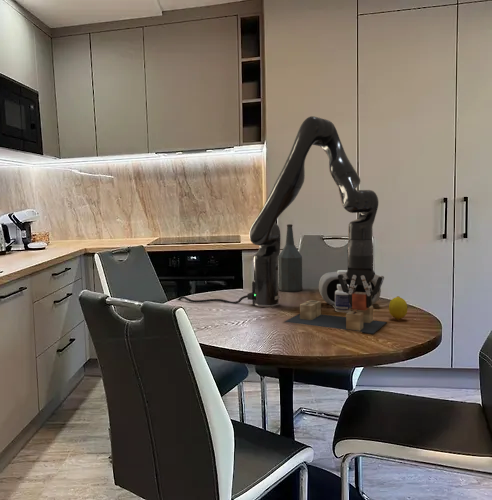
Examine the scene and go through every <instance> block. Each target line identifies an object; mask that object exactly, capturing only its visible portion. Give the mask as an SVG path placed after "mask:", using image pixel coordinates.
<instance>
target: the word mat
mask: <svg viewBox="0 0 492 500" xmlns="http://www.w3.org/2000/svg"><path fill="white" fill-rule="evenodd" d="M284 322H285V323H291V324H299V325H305V326H314V327H321V328H328V329H337V330H343V331H353V332H357V331H356V330H349V329H346V316H341V315H340V316H339V315H331V314H322V313H321V315H320V316H318V317H316V318H315V319H313V320H305V319H300V313H299V314H297V315H294V316H292V317H291V318H289V319H287V320H284ZM387 323H388V322H387V321H382V320H374V319H373V321H372V322H371V323H364V322H363V329H361V330H360V331H358V333H361V334H368V335H375V333H377V332H378V331H379V330H381V328H383V327H384V326H385V325H387Z"/></svg>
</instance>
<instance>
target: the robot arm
mask: <svg viewBox="0 0 492 500" xmlns="http://www.w3.org/2000/svg"><path fill="white" fill-rule="evenodd" d="M312 146H317V147H320V148H321V149H322V150H323V151H324V152H325V154H326V155H327V158H328V159H327V160H328V170H329V173H330V176H331V178H332V180H333V182H334V183H335V184H336V186H337V188H338V192H339V193H338V194H339V197H340V202H341V206H342V207H343V209H344V210H345V211H347V212H348V213H351V214H357V213H358V215H357V218H356V219H353V220H352V221H349V223H348V227H347V228H348V229H347V230H348V231H347V234H348V237H347V238H348V239H347V249H346V253H347V269H346V270H347V272H346V273H344V274H340V275H338V279H339V282H340V285H341V287H342V290H343V292H346V293H348V294H349V304H351V306H352V294H353V293H354V292H355V289H356V287H357V285H362V286H364V289H365V291H366V294H367V296H366V308H369V307H370V306H373V305H372V296H373V295H376V294H378V293H379V290H380V288H381V287H382V285H383V283H384V280H385V276H384V275H378V274H376V272H375V271H374V269H375V268H374V267H375V266H374V265H375V264H374V241H373V240H374V237H373V235H374V232H373V230H374V229H373V227H374V223H375V220H376V216H377V213H378V209H379V197H378V195H377V193H376V192H375V191H374V190H371V189H357V188H358V187H359V186H360V184H361V178H360V176H359V174H358V172H357V171H356V169H355V168H354V166H353V164H352V162H351V161H350V159H349V158H348V155H347V153H346V150H345V148H344V146H343V144H342V141H341V139H340V135H339V132H338V130H337V128H336V126H335V124H334V123H333V122H332V121H331V120H329V119H326V118H322V117H319V116H313V115H311V116H308V117H307V118H305V119H304V120H303V122H302V123H301V125H300V126H299V129H298V131H297V133H296V136H295V139H294V142H293V143H292V146H291V149H290V151H289V154H288V156H287V158H286V160H285V163H284V165H283V167H282V168H281V171H280V172H279V173H278V176H277V178H276V180H275V182H274V184H273V186H272V189H271V191H270V193H269V194H268V196H267V198H266V200H265V203H264V204H263V206H262V209H261V210H260V212H259V213H258V215H257V216H256V218H255V219H254V221H253V223H252V224H251V226H250V228H249V232H248V237H249V240H250V242H251V243H252V244H253V245H255V246H259V248H258V250H257V252H256V253H255V254H254V255H253V281H252V282H251V292H249V293H247V295H243V296H241V297H240V298H239V299H238V300H236V301H230V300H228V299H227V300H226V299H222V298H208V299H191V298H188V297H187V296H180V297H178V298H177V301H181V300H182V299H183V300H185V301H187V302H190V303H206V302H207V303H209V302H222V303H225V304H226V303H227V304H232V305H233V304H235V305H237V304H240V303H241V302H242V300H244V299H247V300H249V301H250V300H251V301H252V302H251V303H252V304H251V305H252V306H255V307H257V308H258V307H259V308H274V307H278V306H280V302H279V301H280V300H279V299H280V294H279V271H278V257H279V255H280V253H281V237H282V236H281V229H280V226H279V225H278V223H277V220H278V219H279V217H280V216H281V214H282V213H284V212H285V210H286V209H288V207H290V205H291V204H293V202H294V201H295V200H296V198H297V196H298V195H299V193H300V192H301V189H302V187H303V185H304V184H305V179H306V167H305V166H306V165H305V164H306V159H307V156H308V154H309V152H310V150H311V148H312ZM347 277H348V278H349V279H350V281H351V284H350V289H349V288H348V285H347V283H346V279H347ZM373 278H375V282H376V285H375V288H374V290H373V291H372V289H371V283H370V282H371V280H372V279H373Z"/></svg>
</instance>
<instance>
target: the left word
mask: <svg viewBox="0 0 492 500" xmlns="http://www.w3.org/2000/svg"><path fill="white" fill-rule="evenodd" d="M299 314H300V319H305V320H313V319H315V318H316V317H318V316H320V315H321V314H322V301H321V300H314V299H308V300H307V301H305V302H302V303H300V304H299Z"/></svg>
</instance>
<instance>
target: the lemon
mask: <svg viewBox="0 0 492 500" xmlns="http://www.w3.org/2000/svg"><path fill="white" fill-rule="evenodd" d="M408 310H409V309H408V304H407V301H406V300H405V299H404V298H402V297H400V296H396V297H393V298H391V300H390V301H389V303H388V312H389V314H390V315H391V317H393V318H395V320H397V321H399V320H401V319H402V318H405V317H406V315H407V314H408Z"/></svg>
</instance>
